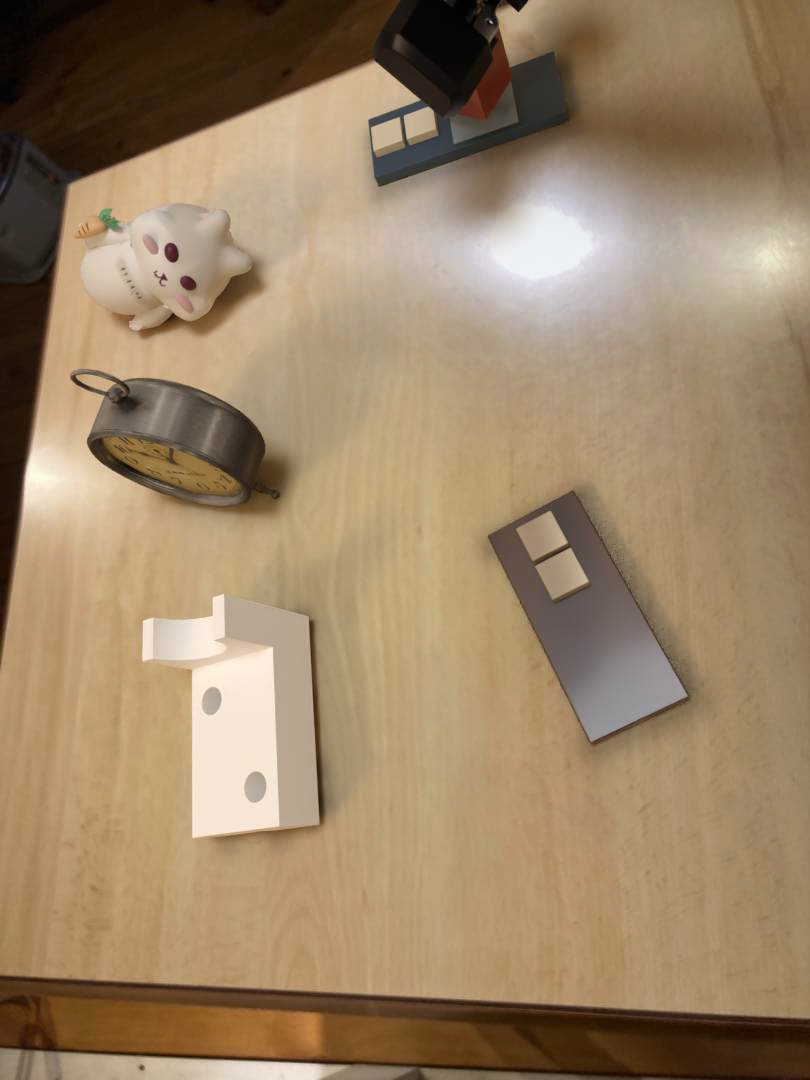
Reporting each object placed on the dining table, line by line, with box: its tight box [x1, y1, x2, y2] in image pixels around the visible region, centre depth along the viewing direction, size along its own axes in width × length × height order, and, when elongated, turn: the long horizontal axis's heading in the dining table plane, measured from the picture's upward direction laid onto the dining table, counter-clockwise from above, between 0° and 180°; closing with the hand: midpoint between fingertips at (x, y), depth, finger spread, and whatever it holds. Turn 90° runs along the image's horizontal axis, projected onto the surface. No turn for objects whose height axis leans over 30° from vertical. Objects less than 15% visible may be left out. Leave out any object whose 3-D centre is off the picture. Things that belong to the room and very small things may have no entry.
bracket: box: [141, 593, 320, 839], centre depth 51 cm, size 13×7×8 cm, turn 6°
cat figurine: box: [73, 202, 253, 331], centre depth 65 cm, size 10×8×15 cm
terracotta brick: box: [457, 0, 512, 121], centre depth 57 cm, size 4×4×11 cm
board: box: [487, 490, 691, 746], centre depth 49 cm, size 6×14×2 cm, turn 23°
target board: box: [367, 51, 570, 187], centre depth 64 cm, size 15×6×2 cm, turn 96°
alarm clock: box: [69, 368, 281, 507], centre depth 54 cm, size 11×5×16 cm, turn 76°
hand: (440, 27), depth 58 cm, fingers closed on terracotta brick, 4 cm apart
